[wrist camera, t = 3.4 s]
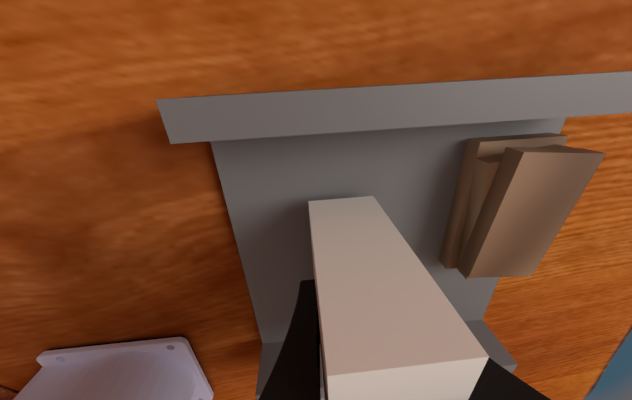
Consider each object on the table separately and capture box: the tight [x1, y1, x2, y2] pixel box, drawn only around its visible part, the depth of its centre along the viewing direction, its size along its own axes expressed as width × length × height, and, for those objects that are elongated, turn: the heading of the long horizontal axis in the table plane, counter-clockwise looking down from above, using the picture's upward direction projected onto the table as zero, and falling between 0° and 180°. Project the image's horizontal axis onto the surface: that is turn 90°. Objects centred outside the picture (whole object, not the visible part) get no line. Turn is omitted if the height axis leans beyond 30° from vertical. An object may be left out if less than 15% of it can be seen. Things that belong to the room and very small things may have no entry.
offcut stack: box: [438, 133, 606, 280], centre depth 11 cm, size 4×7×2 cm, turn 3°
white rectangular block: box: [308, 196, 489, 400], centre depth 9 cm, size 3×8×7 cm, turn 3°
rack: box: [156, 71, 632, 400], centre depth 12 cm, size 16×17×4 cm
